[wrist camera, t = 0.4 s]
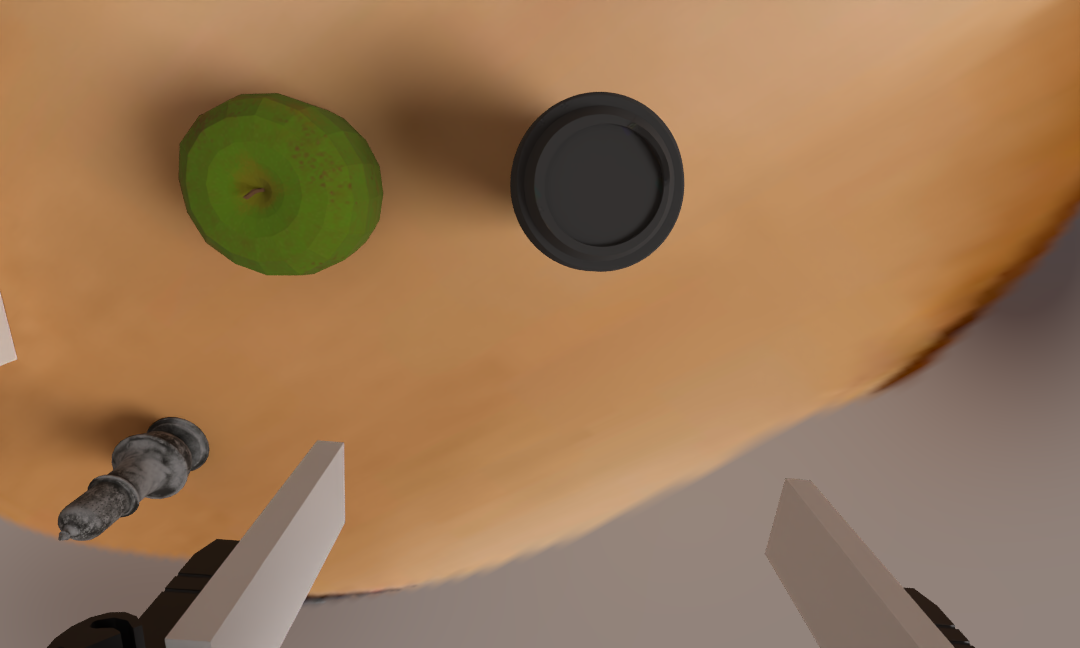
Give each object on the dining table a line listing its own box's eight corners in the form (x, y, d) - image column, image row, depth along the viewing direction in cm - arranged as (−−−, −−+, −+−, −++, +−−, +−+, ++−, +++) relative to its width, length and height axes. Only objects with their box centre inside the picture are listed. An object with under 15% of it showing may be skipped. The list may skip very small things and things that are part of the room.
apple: (422, 219, 40) (383, 239, 30) (303, 281, 42) (226, 321, 31) (342, 76, 37) (268, 44, 27) (216, 147, 39) (100, 143, 28)
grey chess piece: (163, 401, 45) (34, 484, 33) (225, 440, 46) (122, 534, 34) (130, 449, 46) (-4, 545, 34) (191, 486, 47) (81, 591, 36)
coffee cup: (560, 261, 41) (574, 314, 27) (493, 161, 39) (470, 161, 25) (660, 194, 40) (731, 214, 26) (596, 86, 38) (635, 41, 23)
